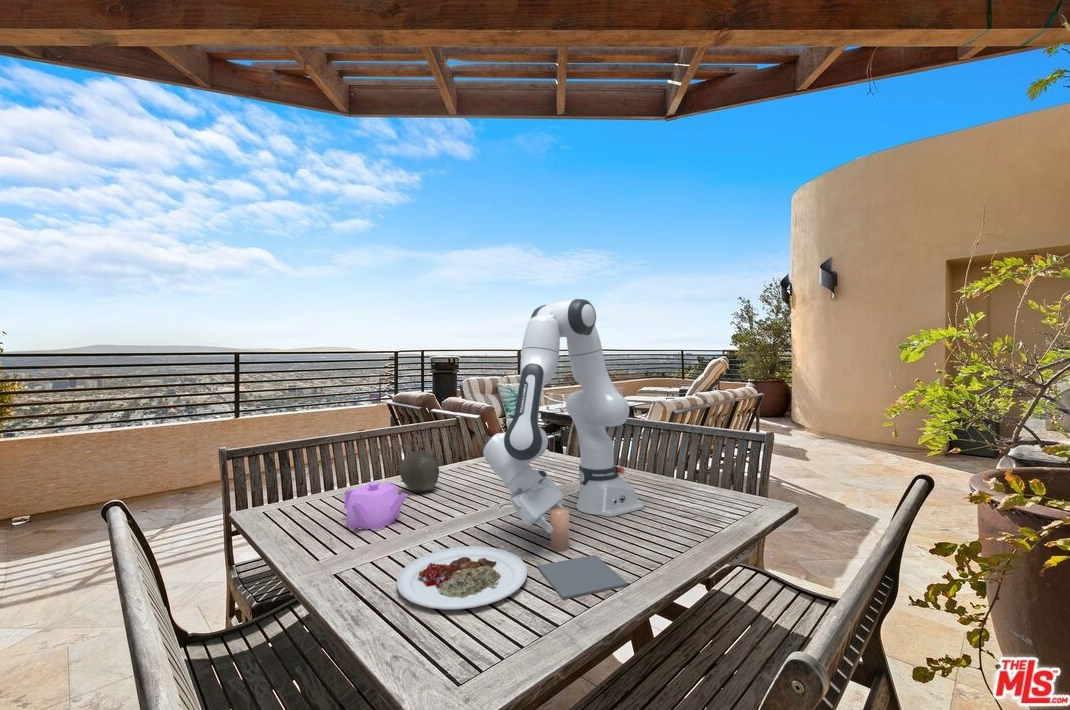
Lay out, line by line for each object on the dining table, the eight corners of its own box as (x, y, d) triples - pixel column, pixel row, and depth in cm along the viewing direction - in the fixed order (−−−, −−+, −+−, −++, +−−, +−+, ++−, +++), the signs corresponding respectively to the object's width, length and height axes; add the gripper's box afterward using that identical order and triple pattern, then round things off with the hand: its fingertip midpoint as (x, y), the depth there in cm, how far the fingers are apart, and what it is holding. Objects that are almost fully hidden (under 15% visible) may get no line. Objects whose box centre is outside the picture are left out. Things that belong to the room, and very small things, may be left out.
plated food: (543, 602, 103) (543, 586, 103) (397, 628, 94) (397, 611, 94) (510, 546, 131) (510, 534, 131) (396, 562, 123) (396, 549, 123)
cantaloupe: (427, 484, 192) (426, 446, 192) (446, 491, 181) (445, 452, 181) (394, 491, 182) (393, 452, 182) (412, 500, 172) (411, 458, 172)
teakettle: (392, 509, 163) (391, 472, 163) (410, 524, 149) (409, 484, 149) (339, 520, 153) (338, 481, 153) (353, 537, 139) (352, 494, 139)
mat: (595, 557, 124) (595, 554, 124) (628, 585, 109) (628, 583, 109) (536, 567, 118) (536, 565, 118) (563, 599, 103) (563, 597, 103)
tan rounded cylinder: (564, 542, 133) (564, 506, 133) (572, 549, 129) (571, 512, 128) (547, 545, 132) (547, 508, 131) (554, 552, 127) (554, 514, 127)
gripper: (515, 488, 123) (551, 531, 120) (547, 469, 142) (579, 506, 138) (500, 503, 125) (535, 546, 121) (533, 482, 144) (564, 519, 140)
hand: (558, 525), depth 130 cm, fingers open, 8 cm apart
